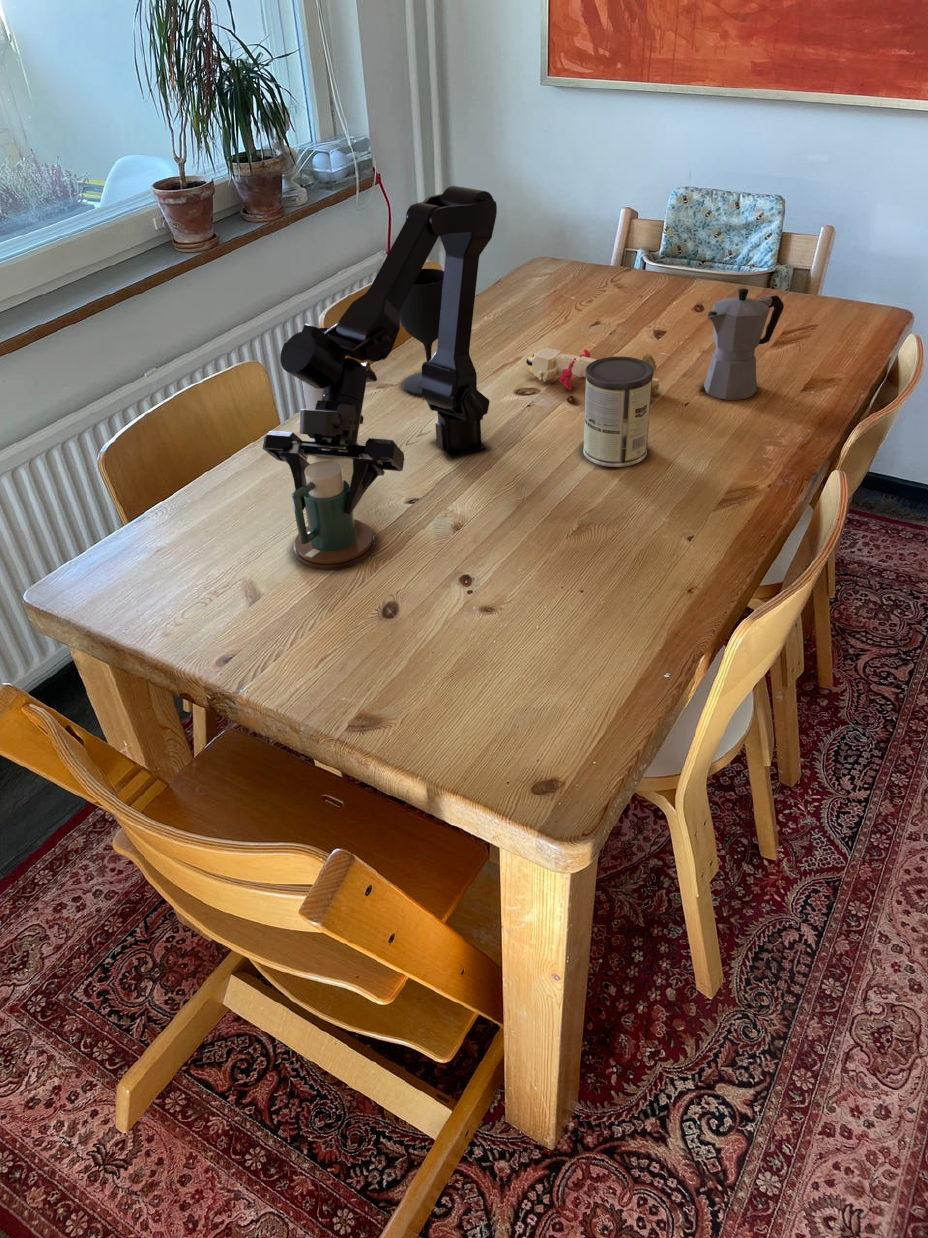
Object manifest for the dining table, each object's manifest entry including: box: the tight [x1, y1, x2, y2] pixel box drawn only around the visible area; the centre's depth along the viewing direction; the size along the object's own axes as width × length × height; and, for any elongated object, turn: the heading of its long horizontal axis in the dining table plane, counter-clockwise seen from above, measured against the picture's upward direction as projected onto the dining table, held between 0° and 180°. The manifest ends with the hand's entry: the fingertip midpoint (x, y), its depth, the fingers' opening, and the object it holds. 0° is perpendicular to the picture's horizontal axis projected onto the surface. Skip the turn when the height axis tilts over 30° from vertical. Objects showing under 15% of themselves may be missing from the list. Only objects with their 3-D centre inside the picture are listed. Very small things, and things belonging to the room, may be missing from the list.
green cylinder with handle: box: [291, 460, 374, 564], centre depth 129 cm, size 12×11×12 cm
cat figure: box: [524, 346, 660, 396], centre depth 169 cm, size 10×9×25 cm
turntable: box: [292, 531, 377, 571], centre depth 133 cm, size 12×12×1 cm
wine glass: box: [400, 268, 444, 397], centre depth 169 cm, size 10×10×20 cm
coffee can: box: [582, 356, 655, 468], centre depth 147 cm, size 10×10×14 cm
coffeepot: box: [703, 287, 785, 401], centre depth 162 cm, size 15×9×18 cm, turn 113°
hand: (324, 511), depth 128 cm, fingers closed on green cylinder with handle, 6 cm apart
